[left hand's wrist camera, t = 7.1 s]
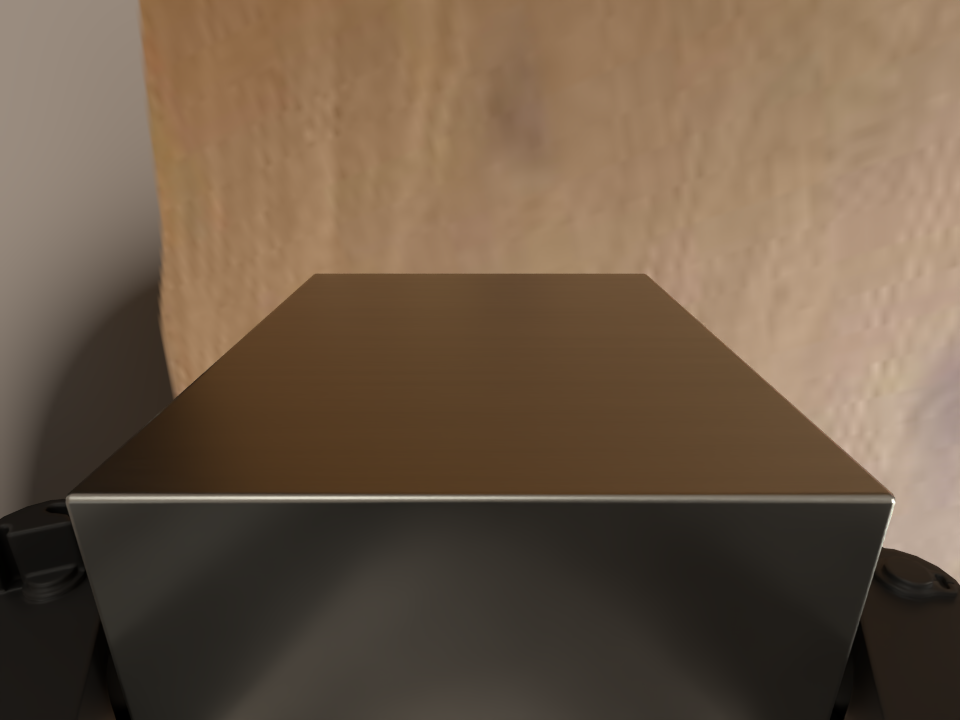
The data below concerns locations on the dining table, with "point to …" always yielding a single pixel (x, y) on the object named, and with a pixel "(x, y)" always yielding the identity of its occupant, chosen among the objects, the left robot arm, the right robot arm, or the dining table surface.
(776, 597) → the box
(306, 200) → the dining table surface
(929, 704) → the left robot arm
